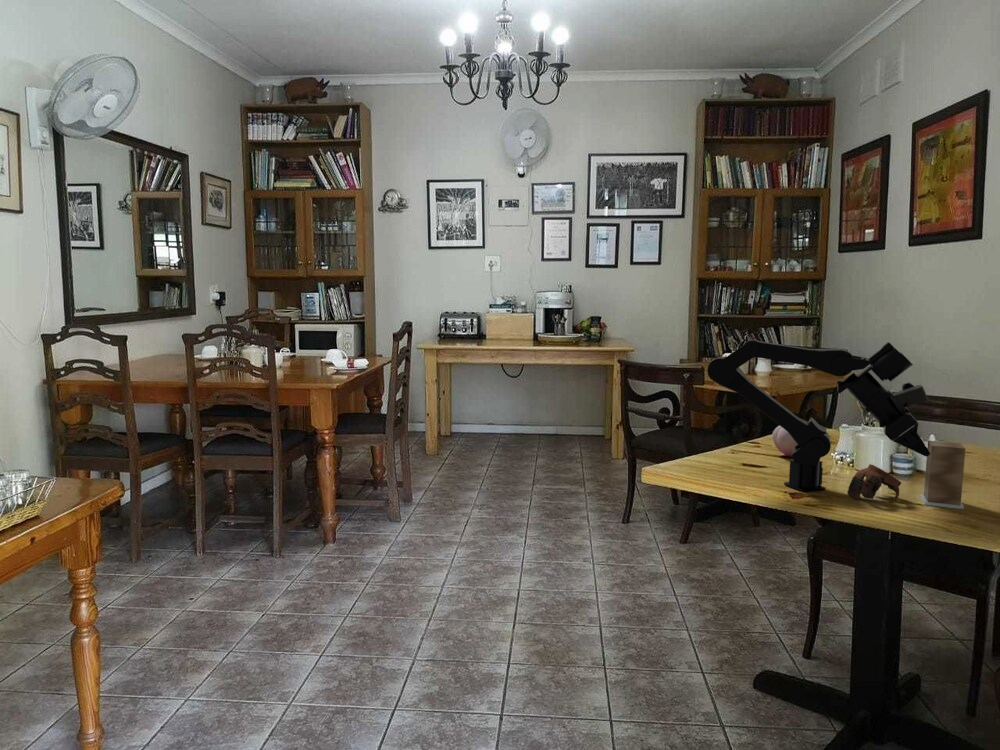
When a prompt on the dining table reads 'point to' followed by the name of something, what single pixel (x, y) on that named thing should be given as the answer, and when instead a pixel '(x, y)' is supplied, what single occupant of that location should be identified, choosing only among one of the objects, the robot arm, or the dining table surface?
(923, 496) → the slate-blue tile
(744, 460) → the dining table surface
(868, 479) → the brown curved piece
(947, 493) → the walnut block
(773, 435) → the decorative fruit
